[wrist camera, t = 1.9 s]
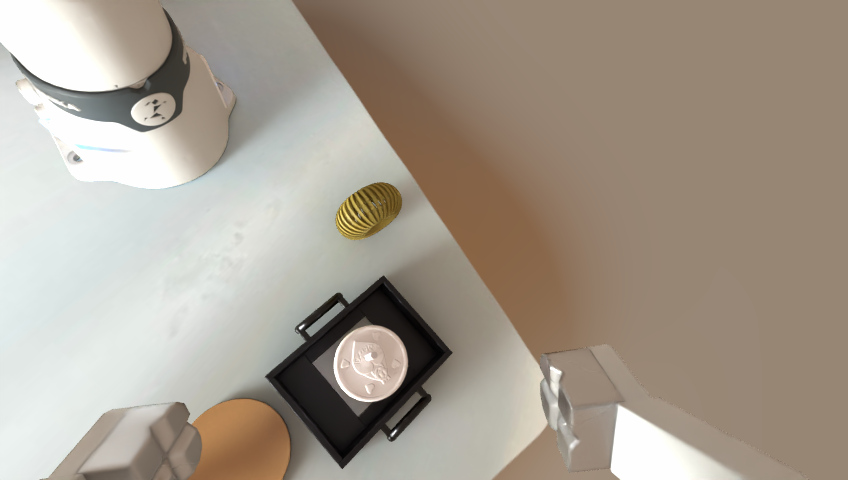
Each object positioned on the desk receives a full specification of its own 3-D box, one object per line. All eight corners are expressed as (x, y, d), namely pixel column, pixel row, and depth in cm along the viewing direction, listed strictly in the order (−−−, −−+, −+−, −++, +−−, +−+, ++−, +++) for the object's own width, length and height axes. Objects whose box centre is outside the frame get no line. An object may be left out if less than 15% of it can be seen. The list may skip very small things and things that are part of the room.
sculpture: (346, 254, 46) (351, 231, 39) (327, 226, 47) (329, 199, 39) (401, 221, 49) (415, 194, 42) (383, 195, 50) (394, 164, 42)
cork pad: (152, 456, 36) (149, 457, 36) (247, 376, 40) (247, 376, 39) (221, 543, 35) (220, 545, 35) (312, 453, 39) (312, 454, 39)
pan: (257, 362, 40) (252, 361, 37) (369, 269, 46) (372, 262, 43) (352, 476, 39) (355, 484, 36) (455, 366, 45) (464, 365, 42)
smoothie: (365, 322, 44) (383, 301, 31) (402, 366, 44) (436, 364, 31) (318, 362, 42) (317, 357, 29) (357, 410, 41) (373, 426, 28)
